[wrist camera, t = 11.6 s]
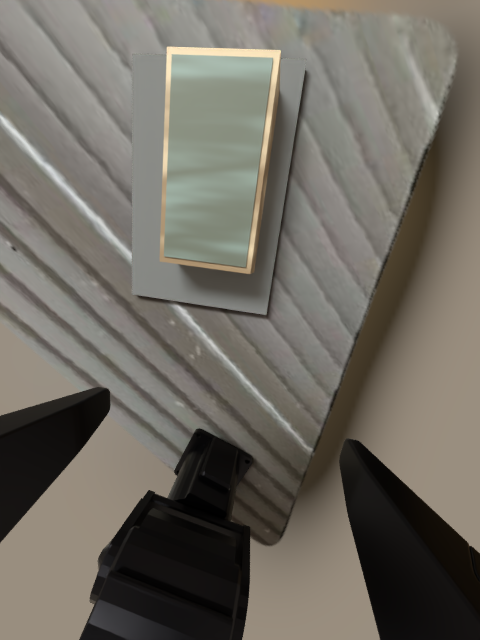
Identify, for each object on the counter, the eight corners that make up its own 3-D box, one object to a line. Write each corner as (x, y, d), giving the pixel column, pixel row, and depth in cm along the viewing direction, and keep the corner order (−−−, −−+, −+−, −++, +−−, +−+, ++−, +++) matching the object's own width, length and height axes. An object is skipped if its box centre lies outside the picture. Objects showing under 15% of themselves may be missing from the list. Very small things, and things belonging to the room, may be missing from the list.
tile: (249, 274, 16) (280, 48, 12) (158, 261, 16) (166, 45, 13) (254, 272, 18) (279, 89, 15) (176, 261, 19) (186, 85, 16)
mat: (266, 313, 20) (266, 315, 19) (134, 293, 21) (131, 294, 21) (305, 64, 15) (306, 58, 15) (135, 58, 16) (132, 53, 16)
